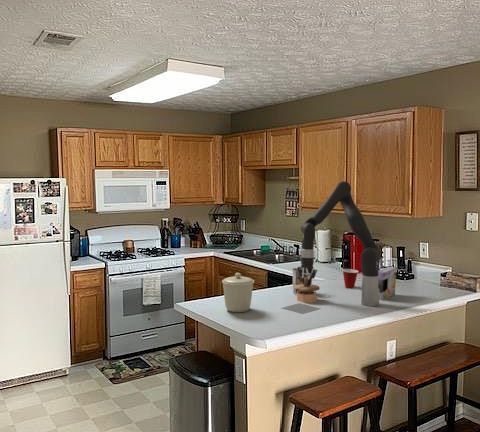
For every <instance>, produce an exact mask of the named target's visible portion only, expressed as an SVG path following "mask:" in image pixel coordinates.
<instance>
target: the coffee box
mask: <svg viewBox="0 0 480 432" xmlns="http://www.w3.org/2000/svg"><path fill="white" fill-rule="evenodd" d="M306 276H307V274H306ZM302 279H303V278H302V277H300V275H299V272H298V267H294V268H292V293H293V295H295V294H297V291H300V290H296V289H294V286H295V285H298V284H303V283H302Z"/></svg>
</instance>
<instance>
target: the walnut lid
mask: <svg viewBox="0 0 480 432" xmlns="http://www.w3.org/2000/svg"><path fill="white" fill-rule="evenodd" d="M294 289H296V290H300V291H315V292H317V291H319V290H320V286H319V285H318V284H312V283H311V285H308V276H305V277H304V284H298V285H295V286H294Z"/></svg>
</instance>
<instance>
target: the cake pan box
mask: <svg viewBox="0 0 480 432" xmlns="http://www.w3.org/2000/svg"><path fill="white" fill-rule="evenodd" d="M378 272H379V275H378V288H379V289H380V292H379V301H383V300H385V299H388V298H390V297H392V296H395V295H396V283H397V267H393V266H388V267H386V268H385V267H384V268H382V269H379V270H378Z"/></svg>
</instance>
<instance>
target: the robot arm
mask: <svg viewBox="0 0 480 432" xmlns="http://www.w3.org/2000/svg"><path fill="white" fill-rule="evenodd" d="M351 192H352V186H351V184H350V183H349V182H348V181H340V182H338V183H337V184H336V186H335V188H334V189H333V191H332V193H331V194H330V195H329V197H328V198H326V200H325V201H324V202H323V203H322V204H321V205H320V206H319V207H318V208H317V209H316V210H315V212H314V213H313V214H312V215H311V216H310V217H308V218H307V219H306V220H305V221H304V222H303V223H302V224H301V226H300V231H301V233H303V239H302V240H301V251H300V264H301V265H300V266H297V268H298V272H299V275H300V277H302V278H303V279H302V283H303V284H304V277H305V276H306V274H307V276H308V285H311V284H312V283H313V282H312V280H313V279H316V278H315V277H316V275H317V272H318V269H315V268H314V263H315V261H314V259H315V257H314V256H315V253H314V241H315V236H316V227H317V226H319V225H320V224H322V222H324V221H325V220H326V218H328V216H329V215H330V214H331V212H332V211H333V209H334V208H335V206H336V205H338V203H340V205H341V207H342V209H343V212H344V214H345V218H346V220H347V222H348V225H349V228H350V229H351V231H352V232H353V234H354V235H355V236H356V238H357V239H358V240H359V241H360V243H361V245H362V247H363V250H362V252H361V253H360V270H361V305H363V306H367V307H375V306H379V305H380V300H379V292H380V289H379V288H378V275H379V272H378V271H379V270H378V268H377V263H378V262H379V261H380V260H381V257H382V253H381V251H380V249H379V246H378V245H377V244H376V242H375V240H374V238H373V236H372V234H371V231H370V230H369V227H368V225H367V222H366V219H365V217H364V216H363V214H362V212H361V211H360V209H359V208H358V207H357V206H356V204H355V201H354V199H353V197H352V194H351Z"/></svg>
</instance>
